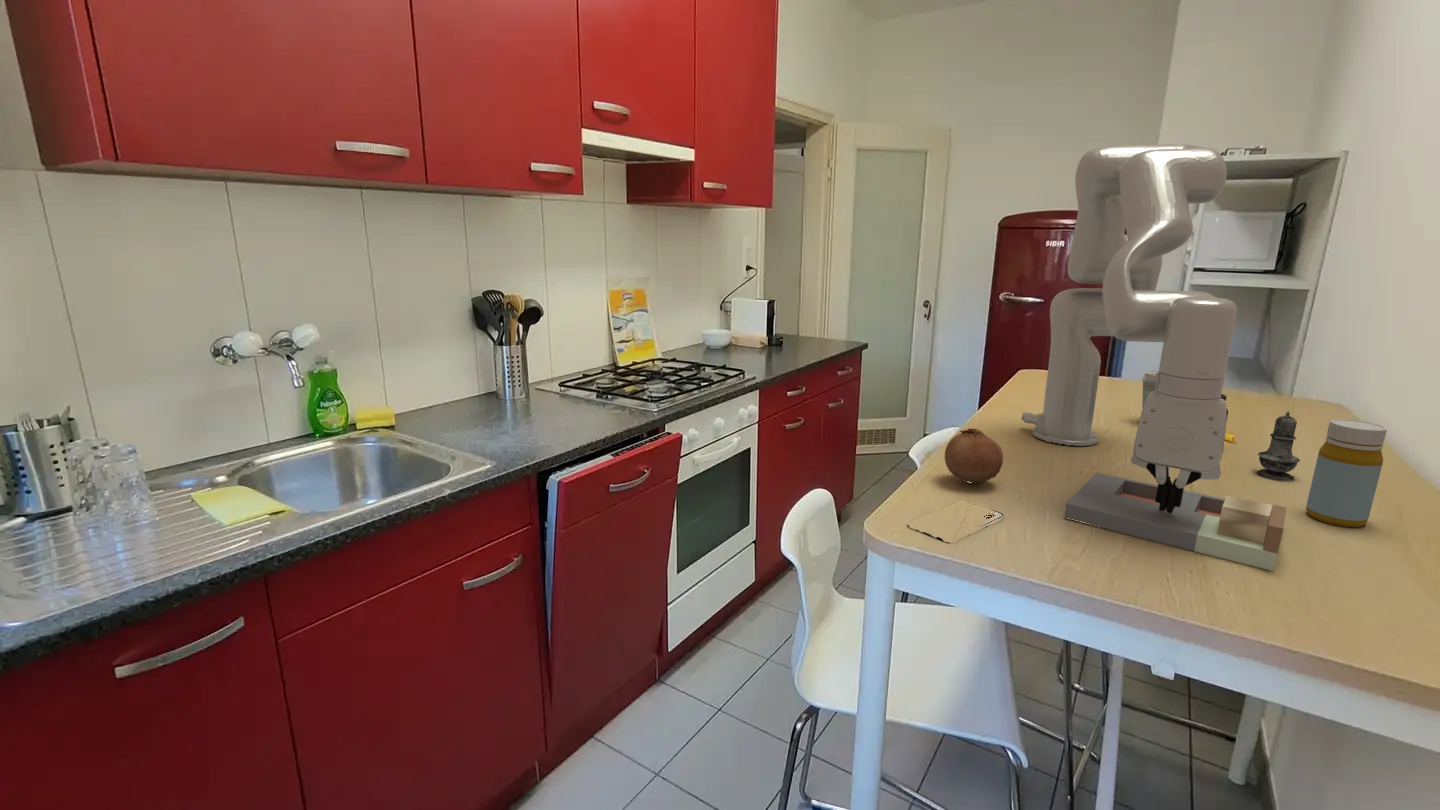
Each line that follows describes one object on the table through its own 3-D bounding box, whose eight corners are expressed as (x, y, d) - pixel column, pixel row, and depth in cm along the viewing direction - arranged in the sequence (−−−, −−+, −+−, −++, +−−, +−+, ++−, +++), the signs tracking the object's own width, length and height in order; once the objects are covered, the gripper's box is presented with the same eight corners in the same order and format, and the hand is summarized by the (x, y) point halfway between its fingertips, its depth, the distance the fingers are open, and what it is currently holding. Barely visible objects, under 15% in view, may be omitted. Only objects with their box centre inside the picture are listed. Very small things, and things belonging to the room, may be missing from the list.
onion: (933, 484, 116) (937, 429, 114) (956, 470, 123) (960, 418, 120) (987, 498, 110) (993, 440, 107) (1008, 482, 117) (1014, 428, 114)
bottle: (1372, 532, 96) (1398, 434, 93) (1309, 522, 100) (1331, 426, 96) (1359, 515, 102) (1383, 422, 98) (1301, 506, 106) (1321, 416, 102)
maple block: (1216, 533, 91) (1222, 506, 90) (1221, 522, 94) (1226, 495, 93) (1263, 544, 87) (1269, 516, 86) (1266, 532, 91) (1272, 505, 90)
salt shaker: (1303, 482, 116) (1318, 416, 113) (1265, 480, 117) (1279, 414, 114) (1283, 471, 122) (1297, 407, 119) (1247, 469, 123) (1259, 406, 120)
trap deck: (1064, 518, 102) (1069, 482, 100) (1094, 486, 115) (1099, 453, 113) (1273, 571, 86) (1283, 528, 84) (1281, 526, 99) (1289, 488, 97)
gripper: (1121, 383, 94) (1103, 503, 99) (1254, 400, 85) (1227, 532, 89) (1132, 375, 100) (1114, 489, 104) (1258, 390, 90) (1233, 514, 95)
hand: (1166, 508), depth 97 cm, fingers closed
